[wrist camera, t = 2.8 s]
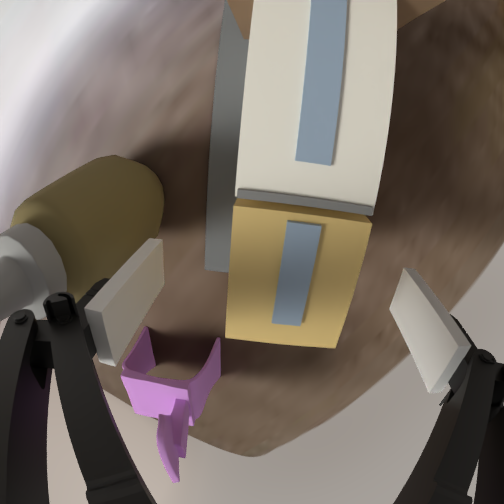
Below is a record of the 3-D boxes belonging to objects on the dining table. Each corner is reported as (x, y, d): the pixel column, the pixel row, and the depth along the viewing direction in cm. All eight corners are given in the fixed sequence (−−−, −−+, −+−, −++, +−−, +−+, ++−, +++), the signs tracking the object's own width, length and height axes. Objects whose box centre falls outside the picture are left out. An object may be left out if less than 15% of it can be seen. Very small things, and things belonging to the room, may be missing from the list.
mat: (227, -13, 15) (227, -15, 15) (381, 9, 15) (383, 8, 15) (205, 267, 26) (204, 269, 25) (341, 283, 25) (341, 285, 25)
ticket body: (247, 6, 16) (201, -132, 2) (361, 22, 16) (470, -77, 2) (232, 153, 21) (147, 226, 7) (346, 168, 21) (458, 264, 7)
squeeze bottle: (85, 211, 24) (-60, 324, 8) (114, 132, 21) (-83, 194, 5) (155, 255, 26) (41, 419, 9) (195, 177, 22) (37, 320, 6)
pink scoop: (139, 317, 29) (75, 432, 16) (220, 329, 29) (186, 465, 15) (150, 369, 33) (108, 472, 19) (220, 381, 32) (197, 496, 19)
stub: (255, 159, 21) (232, 207, 10) (323, 168, 21) (373, 225, 10) (248, 235, 24) (224, 340, 13) (310, 242, 23) (335, 351, 12)
